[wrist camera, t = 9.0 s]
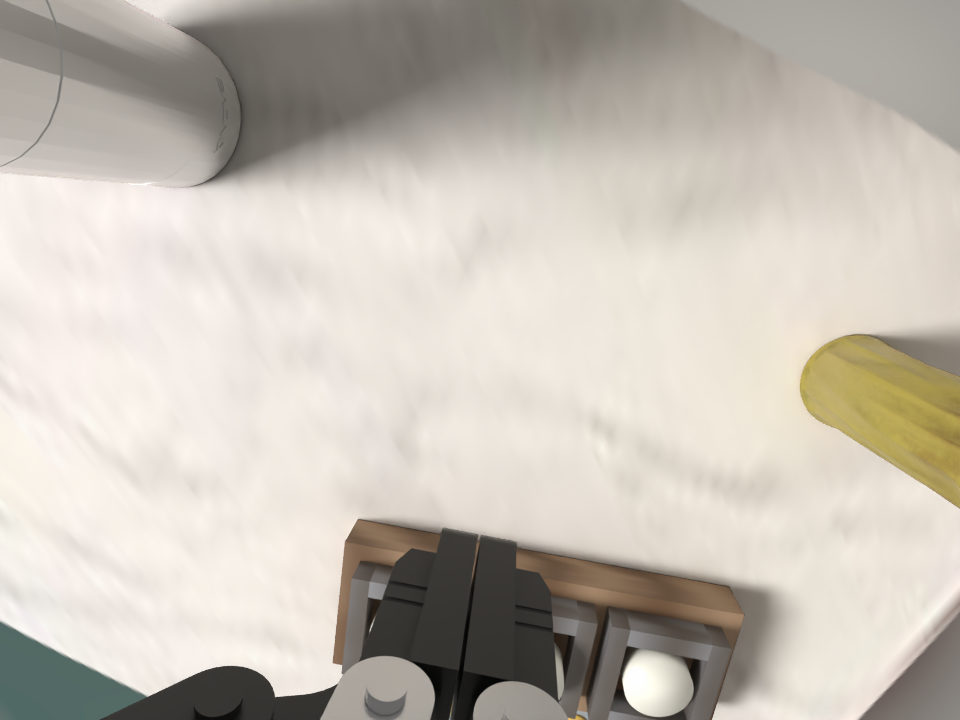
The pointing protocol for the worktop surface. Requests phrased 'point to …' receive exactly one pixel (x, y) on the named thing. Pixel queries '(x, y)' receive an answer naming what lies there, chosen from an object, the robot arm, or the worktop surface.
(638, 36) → the worktop surface
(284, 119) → the worktop surface
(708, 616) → the button board
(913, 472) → the vase
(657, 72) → the worktop surface
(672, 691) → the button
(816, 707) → the worktop surface
